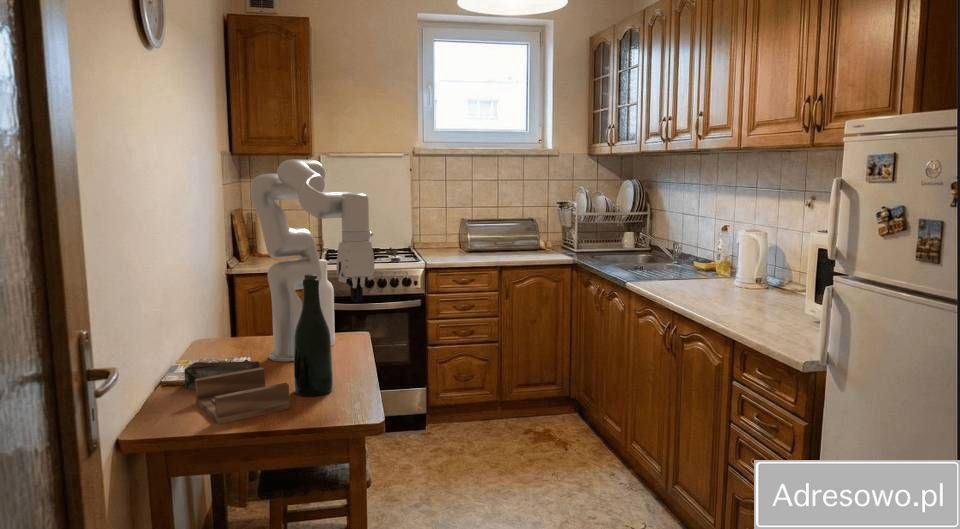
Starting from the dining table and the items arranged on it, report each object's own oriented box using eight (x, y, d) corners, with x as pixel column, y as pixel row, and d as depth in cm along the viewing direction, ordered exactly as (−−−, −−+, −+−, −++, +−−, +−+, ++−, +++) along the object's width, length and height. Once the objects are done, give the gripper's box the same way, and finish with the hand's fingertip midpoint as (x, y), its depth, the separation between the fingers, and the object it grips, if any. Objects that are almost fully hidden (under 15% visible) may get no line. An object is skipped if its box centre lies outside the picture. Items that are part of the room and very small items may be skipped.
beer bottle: (309, 383, 198) (306, 270, 194) (340, 387, 195) (337, 272, 190) (286, 394, 189) (282, 276, 184) (318, 399, 185) (315, 278, 180)
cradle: (195, 402, 181) (194, 379, 181) (262, 389, 192) (261, 367, 191) (218, 424, 167) (217, 398, 166) (289, 408, 178) (288, 384, 177)
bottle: (329, 348, 237) (327, 261, 232) (308, 346, 238) (305, 261, 234) (338, 342, 244) (336, 258, 240) (318, 340, 246) (315, 258, 242)
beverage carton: (195, 381, 200) (194, 359, 200) (261, 381, 201) (260, 359, 200) (184, 389, 193) (183, 367, 192) (253, 389, 193) (252, 367, 192)
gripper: (372, 234, 201) (373, 296, 204) (325, 237, 192) (326, 301, 195) (385, 236, 196) (386, 299, 198) (337, 239, 187) (338, 306, 189)
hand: (356, 300), depth 197 cm, fingers closed
